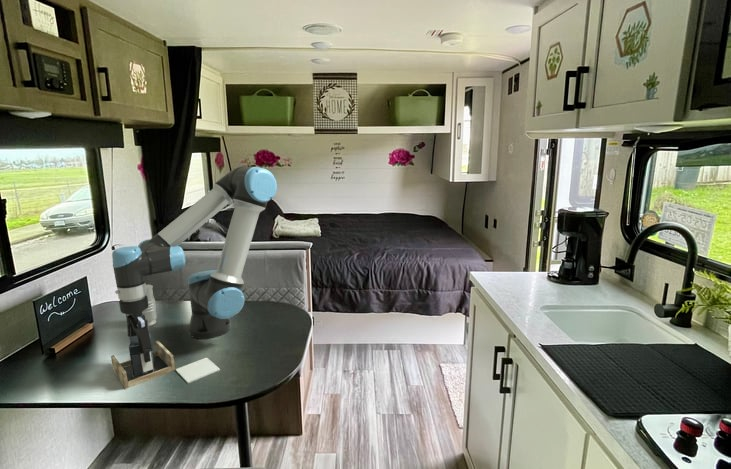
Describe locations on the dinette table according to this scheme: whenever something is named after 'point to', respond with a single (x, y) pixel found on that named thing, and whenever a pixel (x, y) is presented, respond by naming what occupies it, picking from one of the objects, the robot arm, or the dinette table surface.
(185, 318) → the dinette table surface
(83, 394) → the dinette table surface
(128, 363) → the frame
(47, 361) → the dinette table surface
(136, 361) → the box
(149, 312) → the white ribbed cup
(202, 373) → the mat
